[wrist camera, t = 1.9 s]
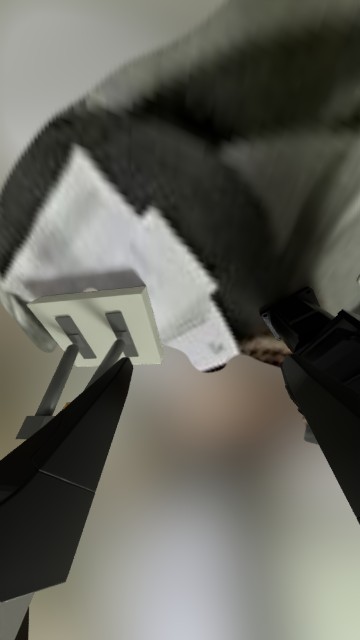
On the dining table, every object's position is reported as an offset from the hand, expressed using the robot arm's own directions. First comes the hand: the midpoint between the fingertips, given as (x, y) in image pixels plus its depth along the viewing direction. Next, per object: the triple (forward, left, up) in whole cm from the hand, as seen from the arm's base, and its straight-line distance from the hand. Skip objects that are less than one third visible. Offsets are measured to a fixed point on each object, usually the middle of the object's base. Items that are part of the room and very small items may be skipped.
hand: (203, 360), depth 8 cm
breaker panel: (+3, +16, -13) cm, 20 cm away
